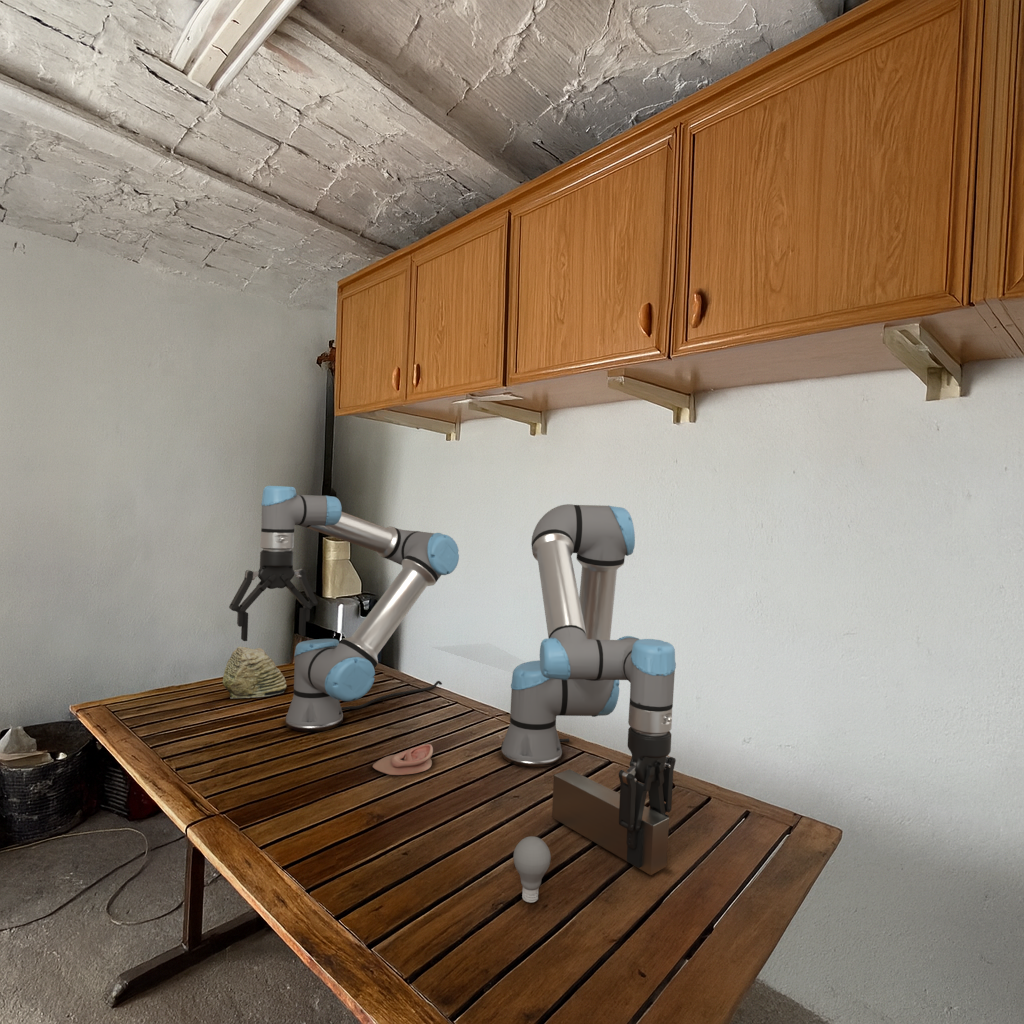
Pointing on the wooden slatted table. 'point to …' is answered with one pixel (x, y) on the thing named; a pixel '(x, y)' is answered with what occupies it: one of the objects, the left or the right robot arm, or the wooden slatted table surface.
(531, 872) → the light bulb
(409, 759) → the anatomical model
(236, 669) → the fossil
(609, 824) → the bar
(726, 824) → the wooden slatted table surface
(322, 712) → the left robot arm
